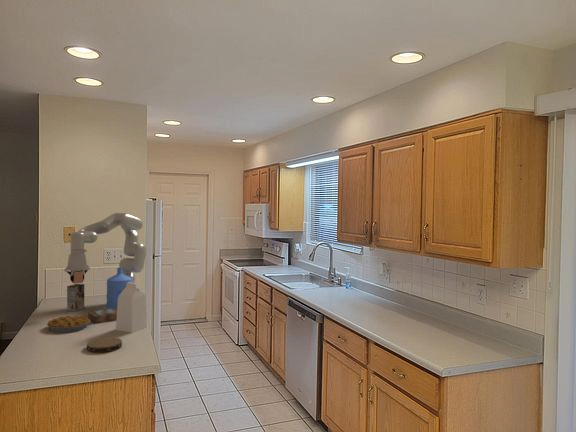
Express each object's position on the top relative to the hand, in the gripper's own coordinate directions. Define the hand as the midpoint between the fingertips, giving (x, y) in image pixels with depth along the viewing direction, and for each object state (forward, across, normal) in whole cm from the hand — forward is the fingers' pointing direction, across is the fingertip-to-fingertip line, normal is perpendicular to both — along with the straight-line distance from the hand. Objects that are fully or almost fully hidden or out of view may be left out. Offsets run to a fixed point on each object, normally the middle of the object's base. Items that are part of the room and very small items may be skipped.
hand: (77, 280), depth 272 cm
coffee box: (+22, -4, -18) cm, 29 cm away
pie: (+22, +10, +23) cm, 34 cm away
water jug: (+22, -26, 0) cm, 34 cm away
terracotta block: (+1, 0, 0) cm, 1 cm away
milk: (+22, -17, +45) cm, 53 cm away
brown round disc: (+22, +5, +69) cm, 73 cm away
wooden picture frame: (+22, -12, +16) cm, 30 cm away
